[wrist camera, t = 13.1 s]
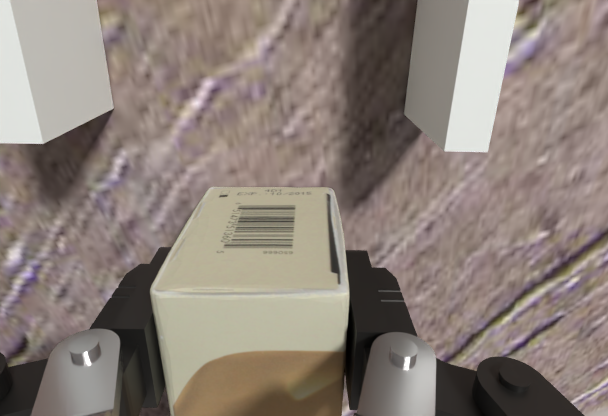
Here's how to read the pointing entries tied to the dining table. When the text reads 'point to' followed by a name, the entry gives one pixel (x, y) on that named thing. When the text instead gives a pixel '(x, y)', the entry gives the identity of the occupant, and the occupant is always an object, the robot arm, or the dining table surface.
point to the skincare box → (255, 305)
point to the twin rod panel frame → (98, 99)
